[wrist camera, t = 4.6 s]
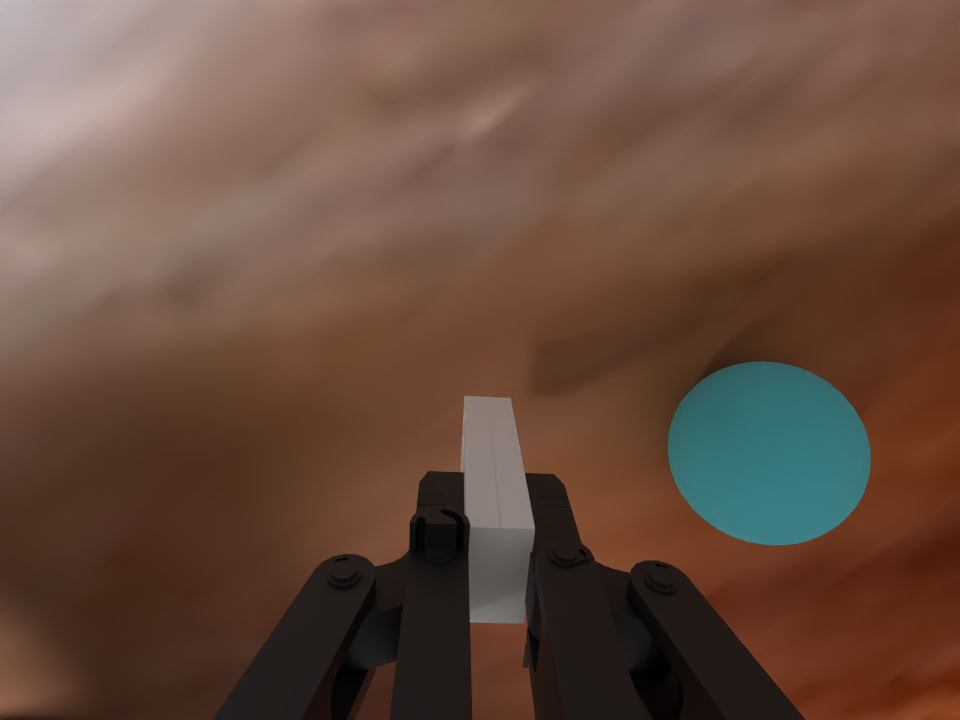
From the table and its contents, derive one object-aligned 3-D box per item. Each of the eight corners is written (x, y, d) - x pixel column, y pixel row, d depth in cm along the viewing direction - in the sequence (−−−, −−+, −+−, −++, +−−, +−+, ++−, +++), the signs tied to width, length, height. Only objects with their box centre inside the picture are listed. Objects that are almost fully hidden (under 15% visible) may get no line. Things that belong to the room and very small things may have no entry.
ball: (778, 479, 23) (881, 589, 18) (633, 475, 23) (691, 586, 17) (819, 340, 21) (952, 415, 15) (659, 332, 21) (736, 407, 15)
